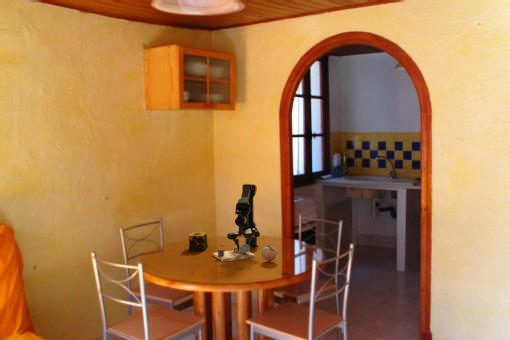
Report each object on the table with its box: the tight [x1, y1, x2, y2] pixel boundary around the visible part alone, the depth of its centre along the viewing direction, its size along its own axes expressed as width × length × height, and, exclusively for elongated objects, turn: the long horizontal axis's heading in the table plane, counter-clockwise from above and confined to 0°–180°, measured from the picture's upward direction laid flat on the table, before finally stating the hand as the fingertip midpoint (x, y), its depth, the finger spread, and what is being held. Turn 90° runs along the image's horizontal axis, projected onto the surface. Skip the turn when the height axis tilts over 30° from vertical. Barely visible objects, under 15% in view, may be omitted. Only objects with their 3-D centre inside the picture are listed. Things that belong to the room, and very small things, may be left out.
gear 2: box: [238, 243, 251, 253], centre depth 288 cm, size 7×7×3 cm
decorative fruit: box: [261, 244, 279, 263], centre depth 276 cm, size 9×8×10 cm
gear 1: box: [232, 245, 241, 253], centre depth 295 cm, size 7×7×3 cm
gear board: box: [212, 248, 256, 263], centre depth 289 cm, size 20×16×5 cm
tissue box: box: [188, 231, 209, 252], centre depth 308 cm, size 10×10×10 cm
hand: (244, 249), depth 288 cm, fingers closed on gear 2, 7 cm apart
